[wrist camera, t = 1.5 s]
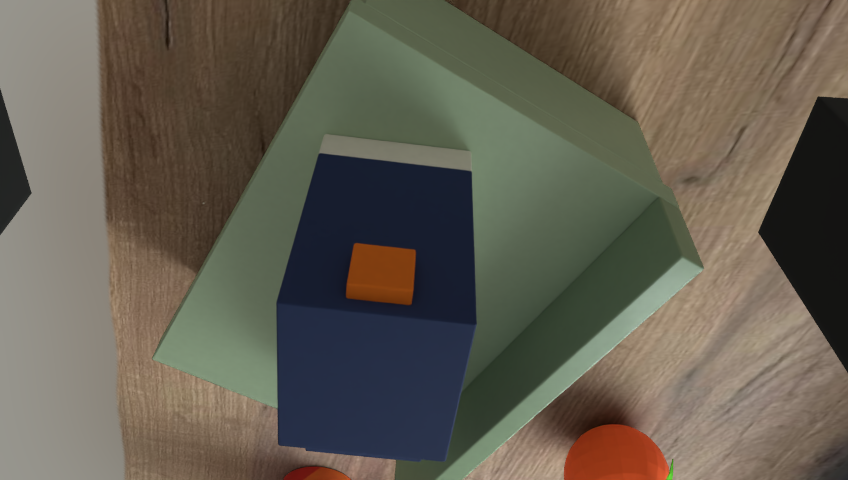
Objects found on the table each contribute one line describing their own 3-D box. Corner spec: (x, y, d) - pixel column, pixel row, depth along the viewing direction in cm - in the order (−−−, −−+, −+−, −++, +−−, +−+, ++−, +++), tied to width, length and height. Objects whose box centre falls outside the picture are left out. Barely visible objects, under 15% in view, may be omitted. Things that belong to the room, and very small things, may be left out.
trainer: (324, 119, 29) (275, 287, 21) (473, 137, 29) (480, 309, 21) (315, 379, 39) (279, 561, 31) (427, 390, 39) (420, 574, 31)
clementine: (622, 380, 48) (644, 474, 43) (690, 423, 51) (720, 517, 45) (538, 437, 52) (548, 529, 47) (605, 475, 55) (622, 566, 49)
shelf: (190, 272, 44) (124, 421, 35) (367, -49, 32) (333, 56, 23) (418, 372, 48) (409, 526, 40) (646, 127, 36) (705, 269, 28)
